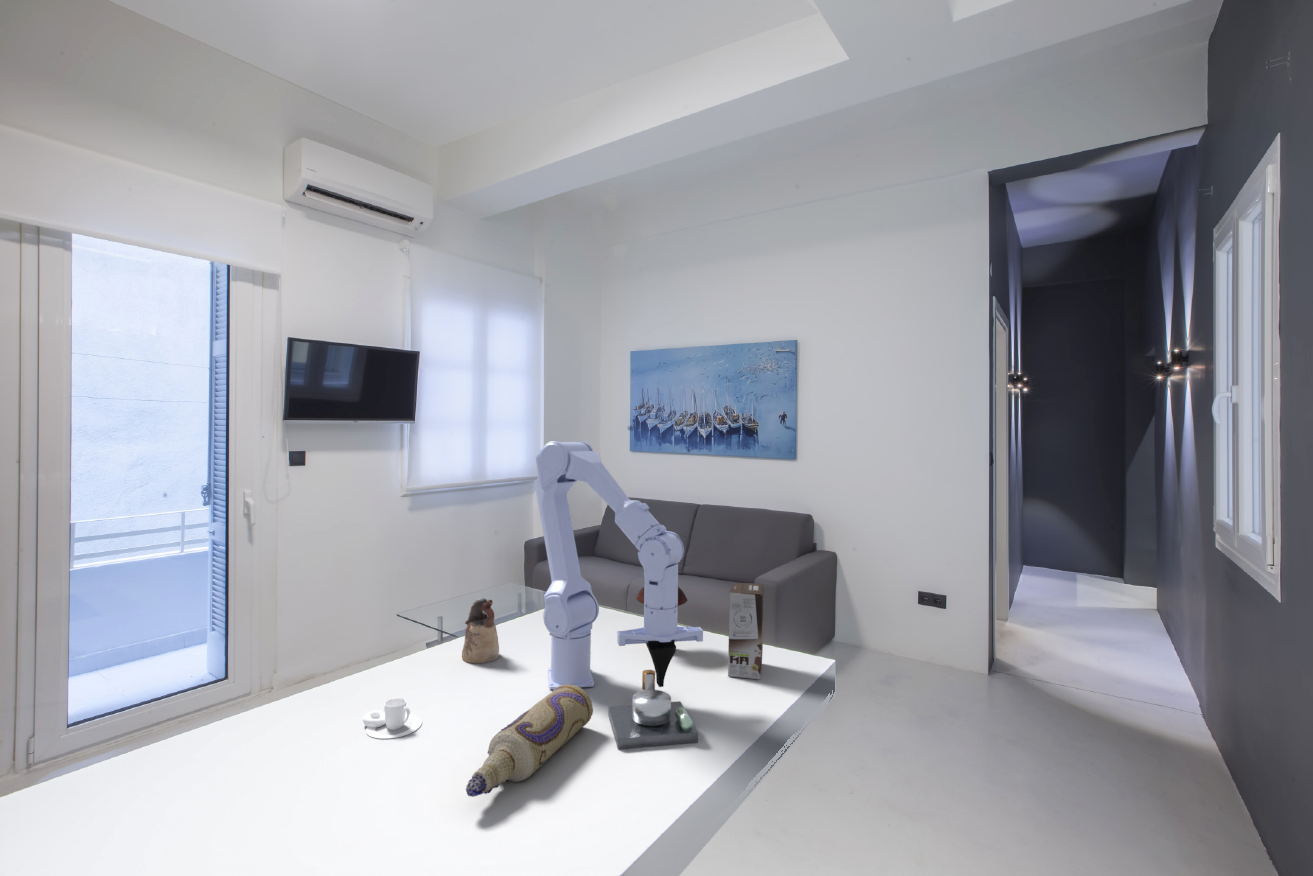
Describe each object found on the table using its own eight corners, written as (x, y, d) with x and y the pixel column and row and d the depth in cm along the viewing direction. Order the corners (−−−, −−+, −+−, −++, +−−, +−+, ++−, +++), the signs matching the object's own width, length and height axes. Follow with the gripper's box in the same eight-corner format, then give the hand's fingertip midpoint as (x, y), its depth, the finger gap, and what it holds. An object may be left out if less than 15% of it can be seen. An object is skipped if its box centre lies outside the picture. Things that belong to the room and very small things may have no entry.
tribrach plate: (608, 715, 101) (608, 694, 101) (680, 710, 104) (680, 689, 104) (617, 749, 91) (618, 725, 91) (697, 742, 93) (698, 718, 93)
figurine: (483, 649, 132) (484, 592, 132) (506, 656, 128) (507, 597, 128) (455, 658, 126) (456, 598, 126) (477, 666, 122) (478, 604, 122)
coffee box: (761, 680, 117) (763, 594, 117) (727, 677, 119) (728, 592, 119) (763, 663, 126) (764, 583, 126) (731, 660, 128) (732, 581, 127)
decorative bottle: (551, 720, 100) (552, 679, 100) (594, 730, 97) (595, 687, 97) (440, 809, 76) (441, 754, 76) (492, 825, 73) (493, 768, 73)
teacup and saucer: (354, 727, 97) (355, 701, 97) (405, 711, 103) (405, 686, 103) (379, 747, 91) (379, 719, 91) (431, 729, 97) (431, 702, 97)
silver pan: (672, 725, 94) (672, 705, 94) (632, 726, 94) (632, 706, 94) (665, 685, 109) (665, 668, 109) (631, 685, 109) (631, 668, 109)
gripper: (622, 613, 101) (621, 697, 101) (708, 609, 104) (707, 691, 104) (616, 602, 108) (615, 680, 108) (697, 598, 111) (696, 675, 111)
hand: (659, 684), depth 107 cm, fingers closed
